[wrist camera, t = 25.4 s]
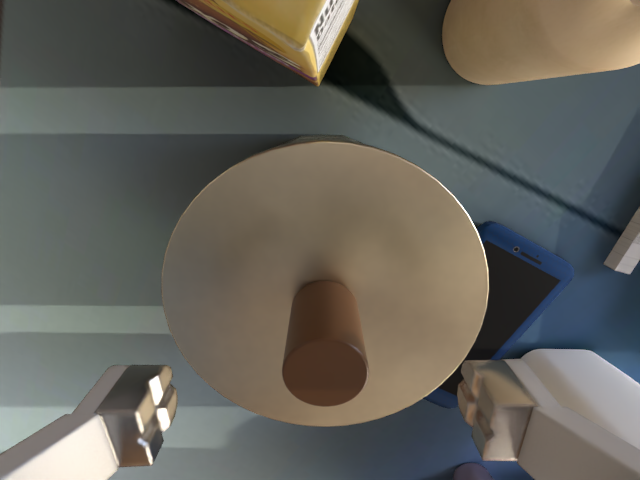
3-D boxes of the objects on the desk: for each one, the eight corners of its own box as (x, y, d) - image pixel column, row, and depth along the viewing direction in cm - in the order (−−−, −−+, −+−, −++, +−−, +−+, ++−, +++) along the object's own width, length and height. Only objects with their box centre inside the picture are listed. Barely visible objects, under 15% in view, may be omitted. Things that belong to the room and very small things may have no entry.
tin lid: (145, 140, 12) (45, 159, 8) (501, 135, 12) (605, 152, 8) (197, 406, 17) (153, 512, 12) (454, 405, 17) (502, 511, 12)
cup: (509, 334, 25) (751, 626, 11) (610, 336, 25) (979, 630, 11) (489, 409, 27) (662, 720, 13) (579, 410, 27) (845, 723, 13)
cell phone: (369, 370, 26) (371, 377, 25) (485, 215, 21) (490, 218, 20) (449, 404, 27) (452, 412, 26) (574, 264, 22) (582, 270, 22)
